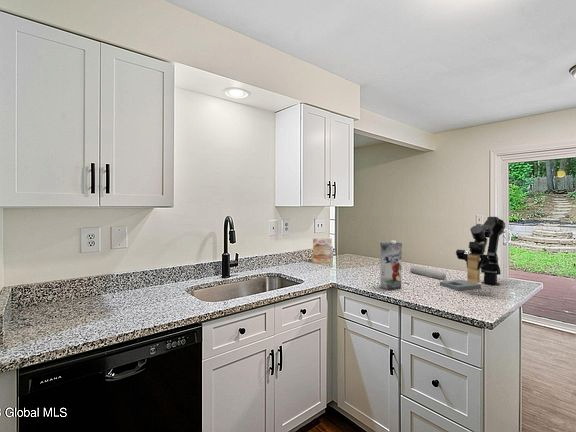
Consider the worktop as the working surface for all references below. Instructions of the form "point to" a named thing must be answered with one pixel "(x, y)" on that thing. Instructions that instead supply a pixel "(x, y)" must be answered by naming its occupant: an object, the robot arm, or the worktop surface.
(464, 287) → the socket board
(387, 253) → the juice carton
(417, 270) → the tube
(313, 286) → the worktop surface
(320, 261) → the coffeecake box
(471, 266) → the pin
